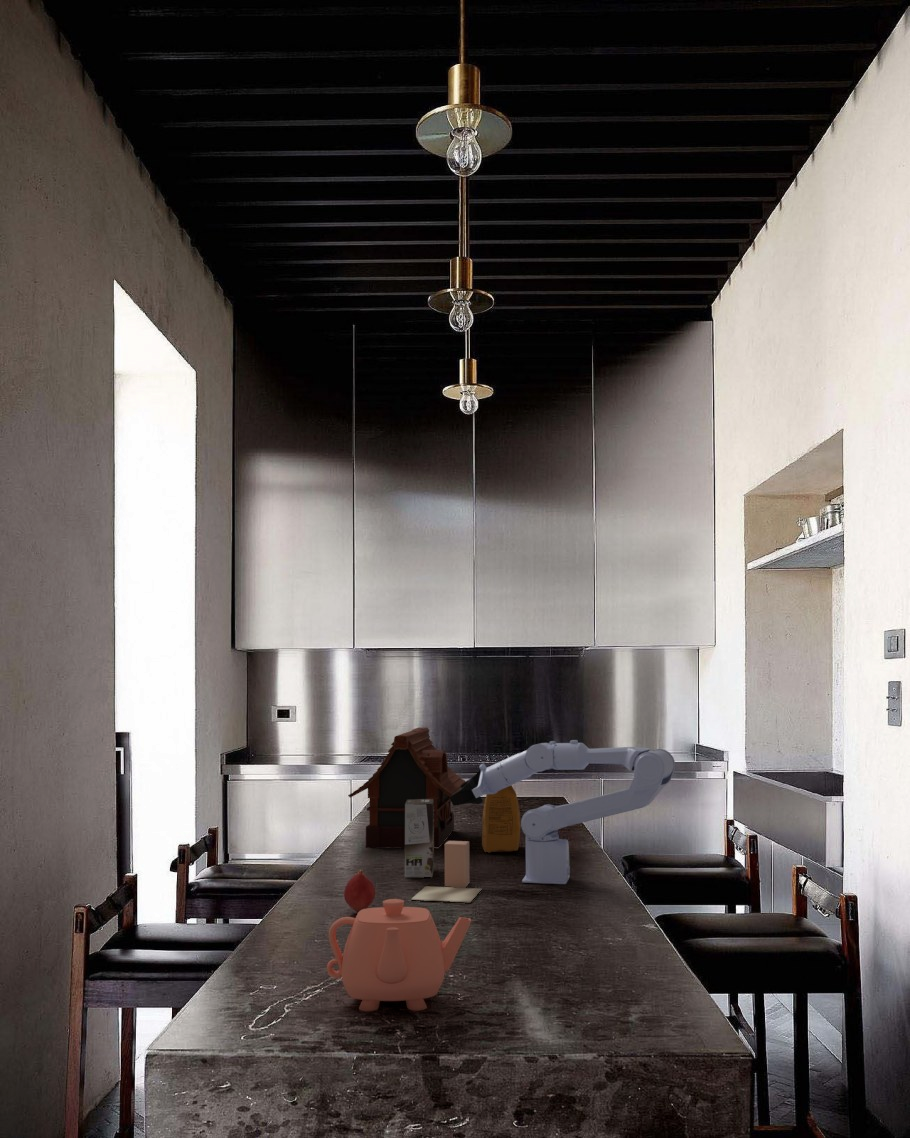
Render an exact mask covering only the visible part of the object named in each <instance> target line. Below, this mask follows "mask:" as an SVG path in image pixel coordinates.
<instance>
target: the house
mask: <svg viewBox="0 0 910 1138" xmlns="http://www.w3.org/2000/svg"><path fill="white" fill-rule="evenodd" d="M430 738H431V736H430V728H428V727H416V728H413V729H412V730H409V731H408V732H407V731H406V732H404V733H401V734H397V735H395V736H394V739H393V741H392V743H391V747H390V748H389V749H388V751H387V752H388V753H387V754H386V756H384V760H383V761H382V762H381V763H380V766H379V767H378V768H377V769H376V771H375V772H374V773H372V776H371V777H370V778H369V779H367V781H366V782H364V783H363V785H361V786H360V787H358V788H357V789H356V790H354V791H353V792H352V793H350V794H348V797H349V798H352V797H355V796H356V795H358V794H360V793H361V792H364V791H366V790H367V799H369V806H368V807H366V811H369V824H367V825H366V826H365V848H367V847H405V803H406V801H407V800H415V799H434V847H439V846H440V845H441V844H442V843H443V842H444V840H445V839H446V838H447V837H448V836H449V834H450V833H451V832H452V831H453V830H454V831H455V813H454V811H452V802H451V800H450V797H451V796H452V795H453V794H454V793H455V792H457V791H459V790H460V789H461V785H462V784H463V783H465V782H466V781H467V780H465V779H463V778H462V777H461V776H460V775H458V774H456V772H455V771H453V770H452V769H451V767H449V766H448V765H449V763H448V756H447V754H448V753H447V752H446V750H443V749H441V750H439V749H436V747H435V746H434V745H433V744H434V742H433V741H432V740H431V739H430ZM449 837H450V836H449ZM444 843H445V842H444ZM444 843H443V844H444Z"/></svg>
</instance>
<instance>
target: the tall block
mask: <svg viewBox="0 0 910 1138" xmlns="http://www.w3.org/2000/svg"><path fill="white" fill-rule="evenodd" d="M469 883H470V841H468V840H467V841H466V840H464V841H463V840H447V841H445V842H444V887H445V886H451V887H466V886H467V885H468V884H469Z"/></svg>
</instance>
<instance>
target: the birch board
mask: <svg viewBox="0 0 910 1138" xmlns="http://www.w3.org/2000/svg"><path fill="white" fill-rule="evenodd" d="M481 890H482V891H483V889H482V888H476V887H475V888H474V887H473V888H472V887H467V888H454V887H445V886H428V885H427V886H424V887H423V888H422V889H421V890H420V891H419V892H417V893H416V894H415V895H414V896H413V897H411V899H410V901H411V900H424V901H450V902H471V901H472V900H473V899H474V898H475V897H476V896H477V894H478V893H479V892H480V891H481ZM482 891H481V892H482ZM481 892H480V893H481ZM480 893H479V894H480ZM477 897H478V896H477ZM477 897H476V898H477ZM476 898H475V899H476ZM475 899H474V900H475ZM474 900H473V901H474ZM473 901H472V902H473Z"/></svg>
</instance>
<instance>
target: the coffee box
mask: <svg viewBox="0 0 910 1138" xmlns="http://www.w3.org/2000/svg"><path fill="white" fill-rule="evenodd" d="M434 868H435V849H434V799H415V800H407V801H406V803H405V848H404V878H424V877H431V878H433V876H434V875H433V874H434V870H435V869H434Z"/></svg>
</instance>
